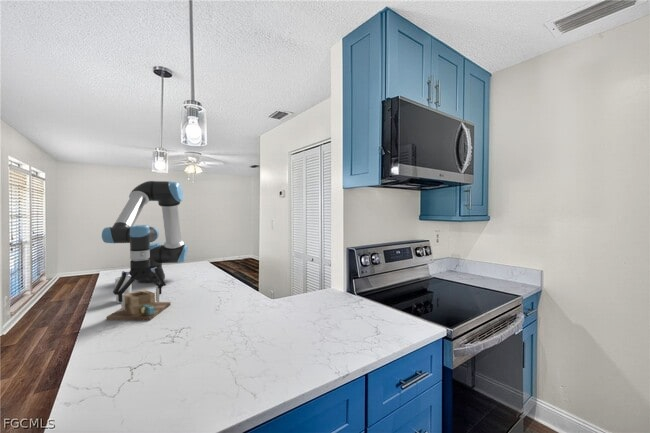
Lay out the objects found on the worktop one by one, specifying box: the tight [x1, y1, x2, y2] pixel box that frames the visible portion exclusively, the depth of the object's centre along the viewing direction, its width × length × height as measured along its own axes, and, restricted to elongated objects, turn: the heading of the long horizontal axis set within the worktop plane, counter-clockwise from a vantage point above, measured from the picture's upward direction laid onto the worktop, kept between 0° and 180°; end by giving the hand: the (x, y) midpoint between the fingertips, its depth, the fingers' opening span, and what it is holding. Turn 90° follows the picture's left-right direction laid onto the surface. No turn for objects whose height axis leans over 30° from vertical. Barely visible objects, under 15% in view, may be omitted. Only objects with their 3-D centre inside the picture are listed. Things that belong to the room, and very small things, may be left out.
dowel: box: [141, 307, 145, 316], centre depth 123 cm, size 1×1×4 cm
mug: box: [114, 275, 133, 304], centre depth 144 cm, size 10×7×12 cm, turn 66°
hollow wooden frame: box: [124, 289, 156, 315], centre depth 129 cm, size 16×9×7 cm, turn 59°
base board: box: [105, 301, 172, 321], centre depth 131 cm, size 18×18×2 cm
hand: (140, 304), depth 131 cm, fingers open, 13 cm apart
